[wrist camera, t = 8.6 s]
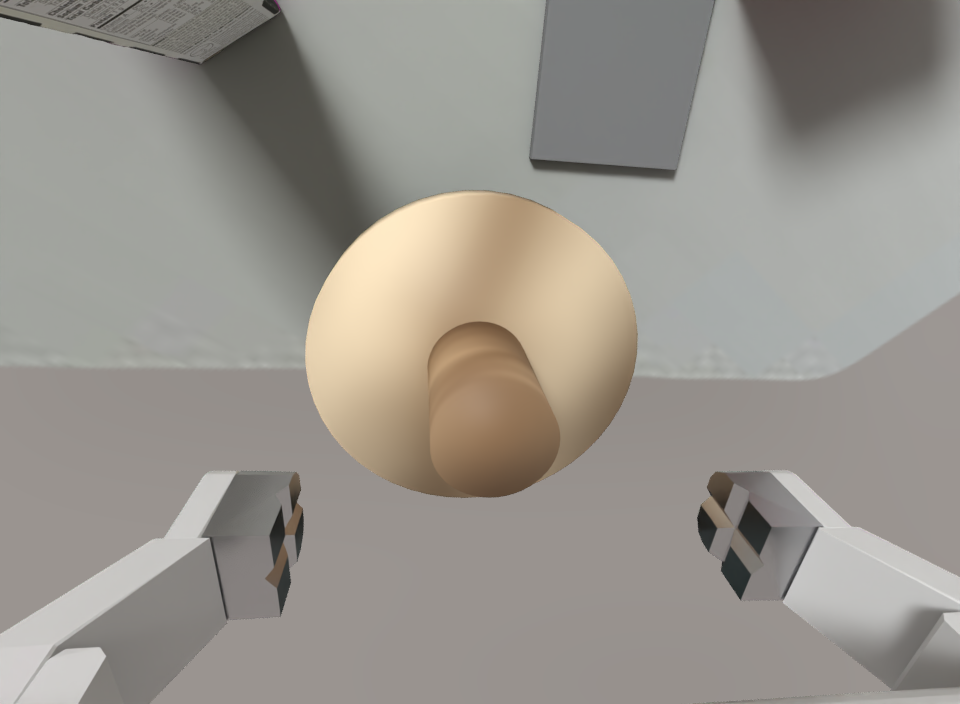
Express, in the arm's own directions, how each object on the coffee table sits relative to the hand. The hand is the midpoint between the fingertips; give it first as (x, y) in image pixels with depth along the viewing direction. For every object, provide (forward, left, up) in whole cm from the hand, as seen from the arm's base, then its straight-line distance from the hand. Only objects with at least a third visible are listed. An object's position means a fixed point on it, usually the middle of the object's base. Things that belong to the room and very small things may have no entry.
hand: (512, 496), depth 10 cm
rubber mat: (-8, -10, -20) cm, 24 cm away
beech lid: (0, 0, -7) cm, 7 cm away
